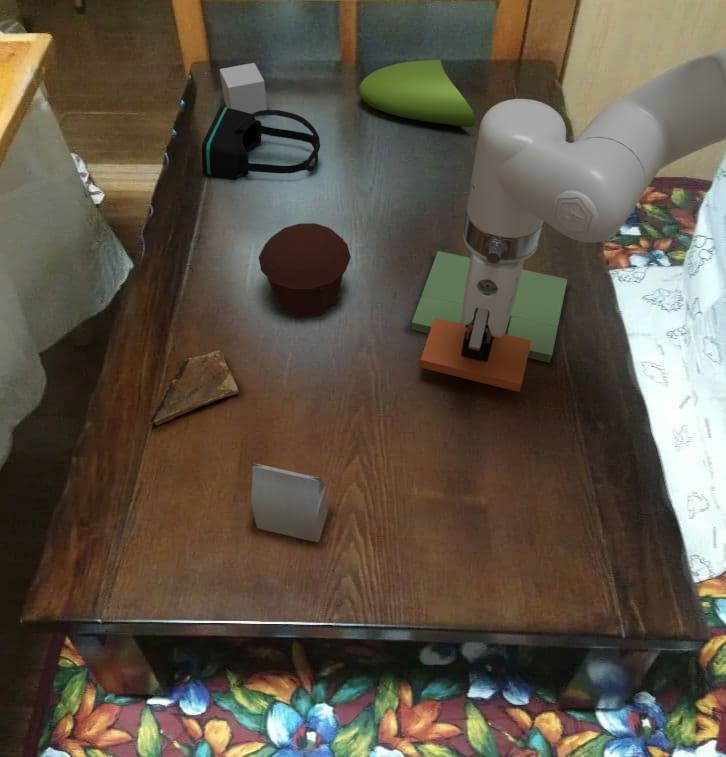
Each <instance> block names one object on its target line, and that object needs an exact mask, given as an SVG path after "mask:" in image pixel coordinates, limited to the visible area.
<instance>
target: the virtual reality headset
mask: <svg viewBox="0 0 726 757" xmlns="http://www.w3.org/2000/svg"><path fill="white" fill-rule="evenodd" d="M260 116H261V117H262V116H278V117H282V118H287V119H291V120H294V121H296V122H298V123H300V124H302V125H303V126H304V127H305V128H307V129H308V130H309V131H310V133H312V134H310V133H306V132H300V131H295V130H290V129H282V128H276V127H270V126H265V125H262V124H263V123H262V122H261V120H260V119H259V120H258V119H256V117H260ZM262 135H265V136H270V137H277V138H282V139H283V138H284V139H288V140H289V139H290V140H295V141H300V142H305V143H308V144H310V145H311V146H312V148H313V150H312V152H311V153H310V155H309V156H308V158H307V159H305V160H303V161H302V162H301V163H297V164H292V165H291V164H289V165H282V164H281V165H279V164H278V165H277V164H269V163H267V164H266V163H252V162H249V152H250V151H251V150H253V149H255V148H257V147H258V146H260V145H261V143H262ZM320 140H321V139H320V136H319V133H318V132H317V130H316V128H315V127H314V126H313V124H311V123H310V122H309V121H308V120H307V119H306V118H304V117H303V116H300V115H299V114H296V113H293V112H290V111H285V110H279V109H267V110H261V111H258V112H255V113H253V114H250V113H246V112H243V111H239V110H235V109H231V108H227V106H223V105H220V107H219V108H218V110H217V112H216V114H215V116H214V117H213V120H212V123H211V124H210V127H209V129H208V131H207V132H206V135H205V137H204V139H203V140H202V144H201V164H202V165H201V166H202V167H201V168H202V173H203V174H206V175H212V176H218V177H223V178H229V179H236V178H238V177H239V176H241V175H243V176H248V174H249V172H254V173H266V174H267V173H268V174H295V173H299V172H302V171H307V172H308V173H311V172H313V171H314V170H315V168H316V166H317V164H318V162H319V152H320V149H321V141H320ZM313 160H314V165H311V163H312V162H313Z"/></svg>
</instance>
